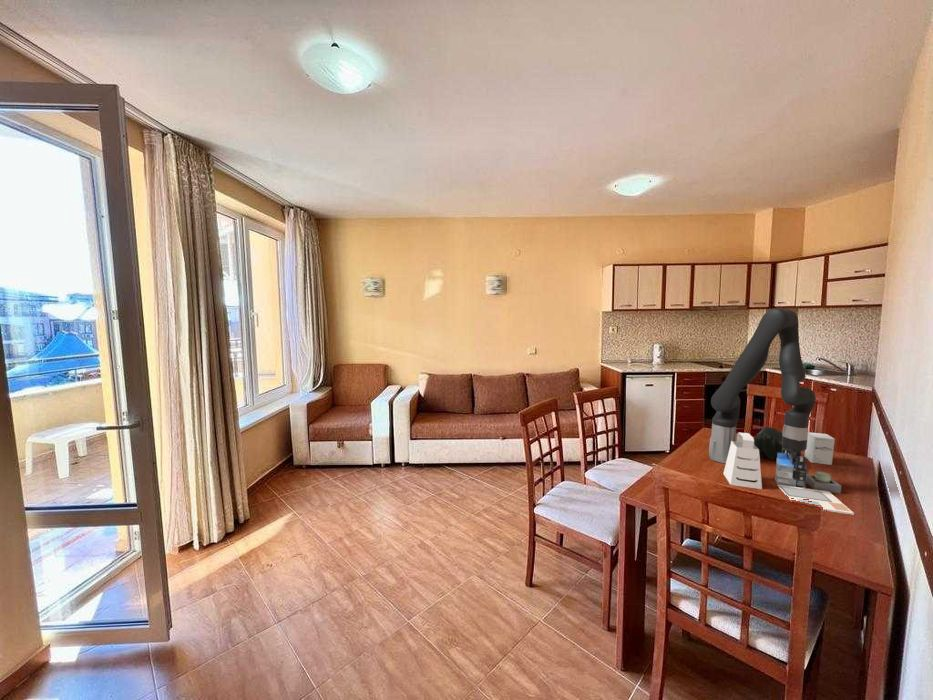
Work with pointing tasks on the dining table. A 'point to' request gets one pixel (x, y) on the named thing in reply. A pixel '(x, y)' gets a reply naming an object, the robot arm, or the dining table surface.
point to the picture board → (816, 498)
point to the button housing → (823, 484)
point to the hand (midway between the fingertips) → (791, 474)
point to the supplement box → (819, 448)
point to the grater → (743, 462)
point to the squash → (769, 442)
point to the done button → (822, 477)
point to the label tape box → (788, 473)
